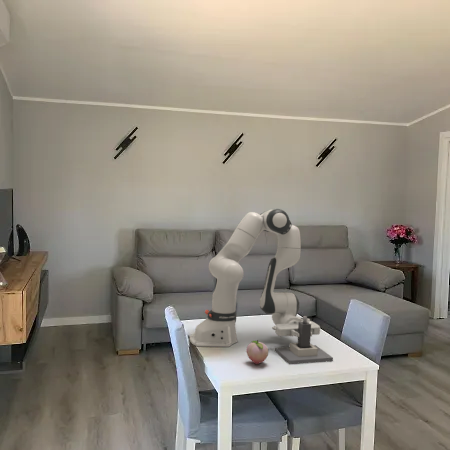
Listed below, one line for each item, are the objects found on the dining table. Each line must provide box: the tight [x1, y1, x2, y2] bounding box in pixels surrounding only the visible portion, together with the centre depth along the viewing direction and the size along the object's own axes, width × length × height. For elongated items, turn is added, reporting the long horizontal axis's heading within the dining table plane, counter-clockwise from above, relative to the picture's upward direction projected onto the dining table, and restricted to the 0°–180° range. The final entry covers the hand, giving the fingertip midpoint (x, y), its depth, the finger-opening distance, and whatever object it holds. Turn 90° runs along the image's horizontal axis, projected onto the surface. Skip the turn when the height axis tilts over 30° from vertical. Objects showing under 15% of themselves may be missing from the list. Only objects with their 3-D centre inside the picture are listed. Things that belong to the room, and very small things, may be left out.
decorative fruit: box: [245, 339, 269, 365], centre depth 191 cm, size 9×8×10 cm
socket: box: [274, 342, 334, 365], centre depth 202 cm, size 20×16×4 cm
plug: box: [296, 315, 312, 349], centre depth 202 cm, size 4×4×15 cm
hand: (305, 335), depth 201 cm, fingers closed on plug, 4 cm apart
